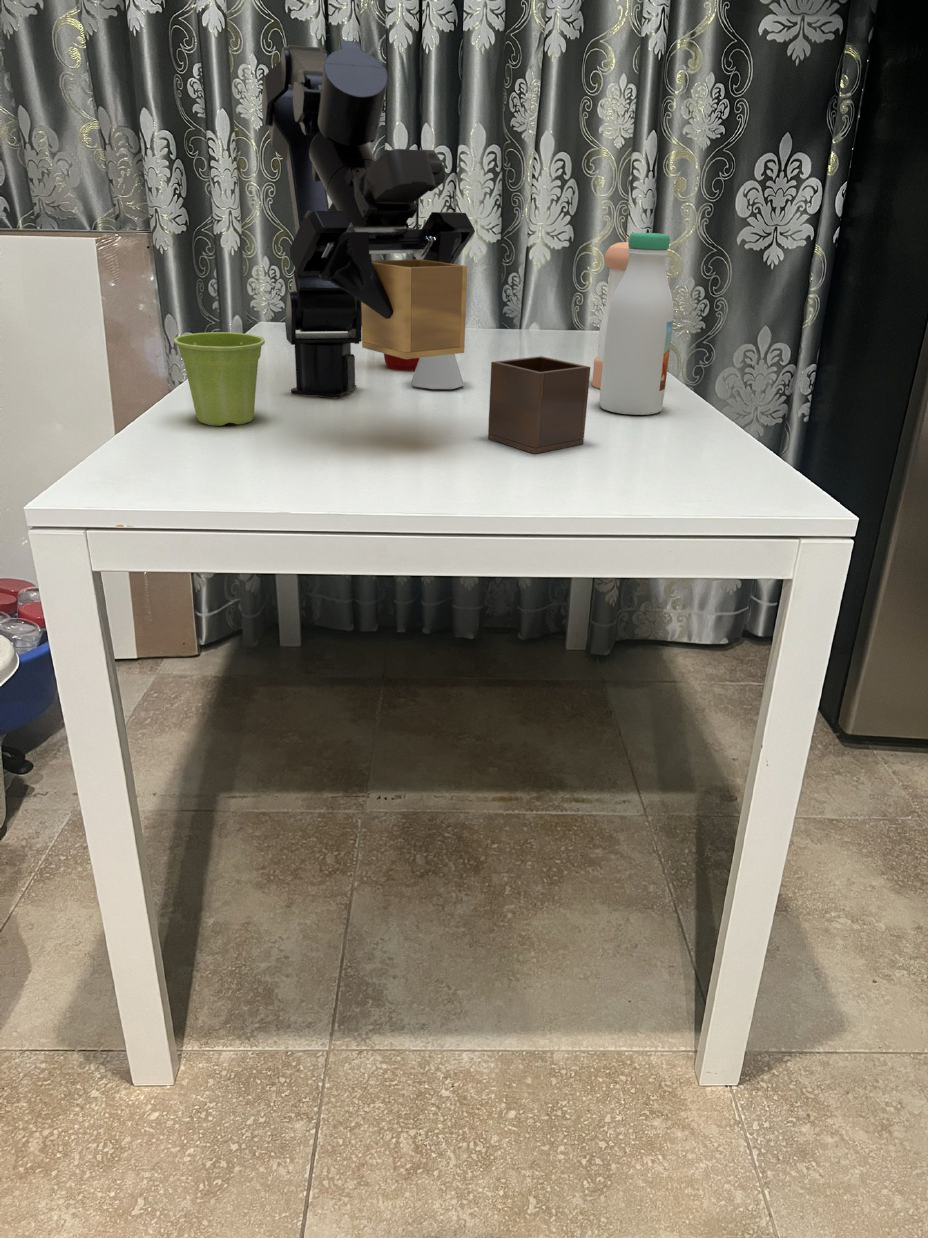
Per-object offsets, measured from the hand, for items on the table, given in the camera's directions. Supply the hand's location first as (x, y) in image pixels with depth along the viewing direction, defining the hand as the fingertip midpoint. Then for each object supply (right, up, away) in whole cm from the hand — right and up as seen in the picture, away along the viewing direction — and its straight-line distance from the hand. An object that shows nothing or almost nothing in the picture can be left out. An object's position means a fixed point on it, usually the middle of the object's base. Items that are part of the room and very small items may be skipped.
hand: (421, 313), depth 87 cm
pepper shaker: (+25, +3, +38) cm, 46 cm away
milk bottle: (+25, -4, +25) cm, 35 cm away
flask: (+1, +2, +34) cm, 35 cm away
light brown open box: (-1, -3, +3) cm, 4 cm away
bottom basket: (+12, -10, +9) cm, 18 cm away
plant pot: (-22, -7, +14) cm, 27 cm away
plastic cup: (-4, +7, +46) cm, 47 cm away
